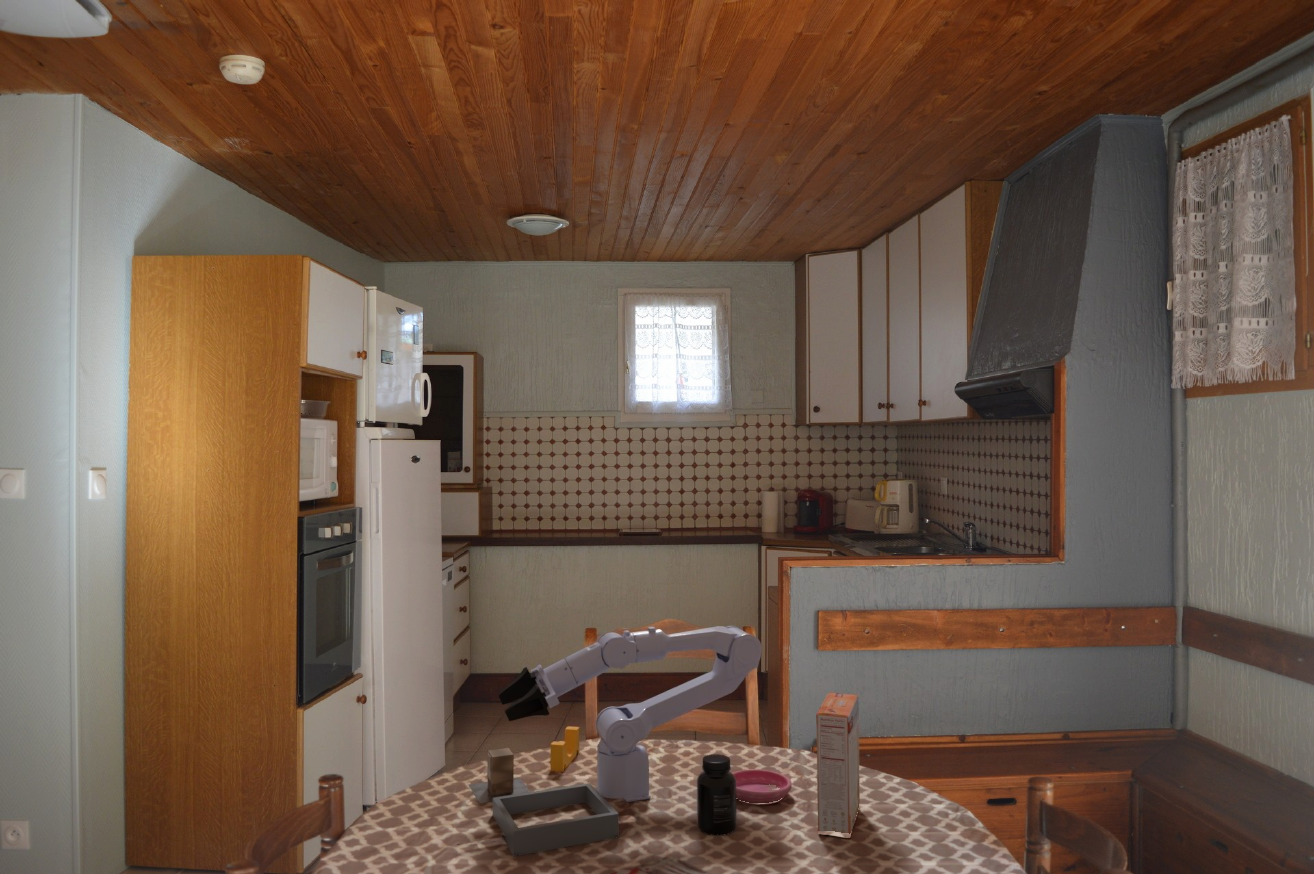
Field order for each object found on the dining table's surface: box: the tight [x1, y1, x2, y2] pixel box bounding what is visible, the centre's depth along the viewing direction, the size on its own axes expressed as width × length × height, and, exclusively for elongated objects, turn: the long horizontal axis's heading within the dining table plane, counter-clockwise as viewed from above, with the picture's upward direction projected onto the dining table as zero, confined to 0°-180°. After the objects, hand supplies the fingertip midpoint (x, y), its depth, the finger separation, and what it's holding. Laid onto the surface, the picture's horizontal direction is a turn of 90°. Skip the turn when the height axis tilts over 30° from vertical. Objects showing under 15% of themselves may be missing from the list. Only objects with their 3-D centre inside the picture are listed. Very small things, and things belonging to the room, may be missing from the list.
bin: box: [492, 782, 620, 857], centre depth 152 cm, size 18×15×4 cm
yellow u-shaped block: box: [549, 725, 580, 773], centre depth 183 cm, size 12×4×6 cm, turn 169°
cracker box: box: [815, 692, 861, 834], centre depth 156 cm, size 14×6×21 cm, turn 160°
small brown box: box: [486, 747, 515, 795], centre depth 167 cm, size 4×4×7 cm
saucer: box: [731, 768, 793, 803], centre depth 168 cm, size 12×12×3 cm
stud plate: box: [468, 776, 531, 805], centre depth 167 cm, size 10×10×3 cm
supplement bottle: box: [696, 753, 738, 836], centre depth 153 cm, size 7×7×12 cm
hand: (503, 707), depth 162 cm, fingers open, 7 cm apart
